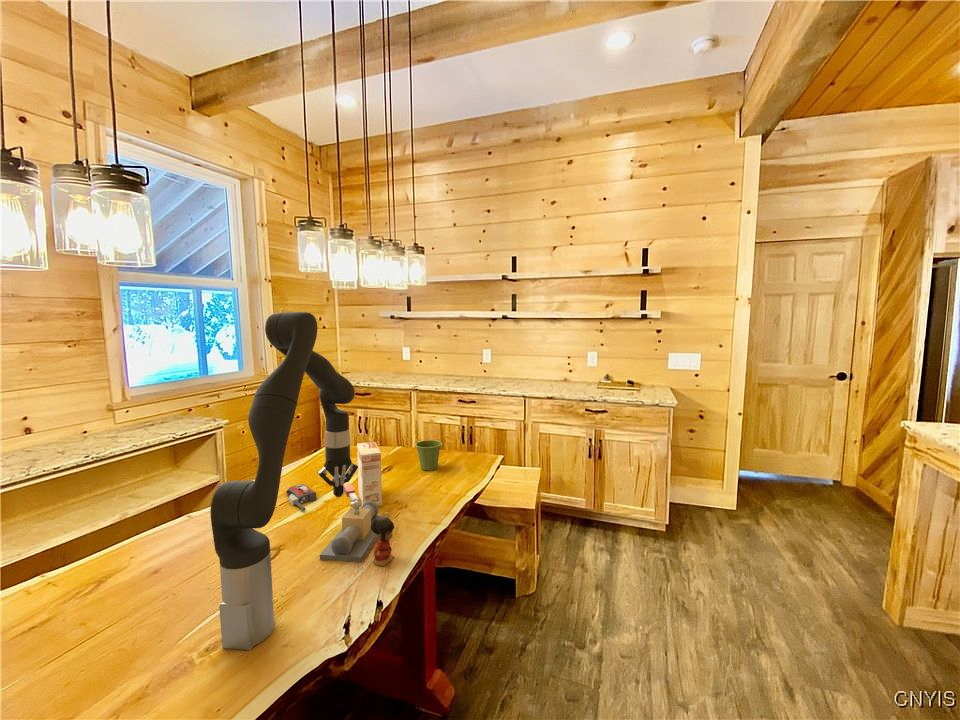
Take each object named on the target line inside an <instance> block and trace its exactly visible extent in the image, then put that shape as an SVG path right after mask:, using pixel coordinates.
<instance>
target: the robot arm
mask: <svg viewBox="0 0 960 720" xmlns="http://www.w3.org/2000/svg"><path fill="white" fill-rule="evenodd" d="M318 327H319V326H318V321H317V318H316V316H315V315H314V314H312V313H311V312H309V311H308V312H307V311H288V312H283V311H282V312H276V313H272V314H270V315H269V316H268V317H267V319H266V321H265V325H264V331H265V336H266V338H267V340H268V342H269V344H271V345H272V346H273V348H275V349H276V350H277V351H279V352H280V353H282V354H283V355H284V356H285V357H284V358H283V359H282V361H281V362H280V364H279V365H278V366H277V367H275V369H274V370H273V371H272V372H271V373H270V374H269V375H268V376H267V377H266V378H265V379H264V380H263V381H262V383H260V384H259V386H258V387H257V388H256V391H255V392H254V393H255V394H254V396H253V399H252V403H251V405H250V409H249V412H248V416H247V417H248V426H249V431H250V433H251V436H252V439H253V441H254V444H255V446H256V450H257V454H258V464H257V465H258V466H257V471H256V476H255V479H254V480H227V481H225V482H223V483H222V484H220V485H219V486H218V487H217V488H216V489H215V491H214V493H213V496H212V499H211V502H210V508H209V510H210V523H211V525H210V526H211V530H212V537H213V546H214V551H215V554H216V556H217V557H218V559H219V569H220V570H219V571H220V585H221V598H222V599H221V600H222V602H220V604H219V606H218V607H219V618H220V619H219V620H220V634H221V635H220V636H221V648H223V649H229V650H243V651H251V650H252V648H253V647H254V646H256V645H258V644H260V643H261V642H263V641H264V640H266V639H267V638H268V637H269V636H270V635H271V634H272V632H273V631H274V629H275V614H274V612H275V610H274V607H275V606H274V597H273V596H274V595H273V591H274V590H273V577H272V576H273V573H272V561H271V560H272V557H271V543H270V542H271V541H270V539H269V537H268V536H267V534H265V533H262V532H260V531H259V530H256V529H261V528H264V527H265V526H266V525H268V524H269V523H270V520H271V519H272V517H273V515H274V513H275V509H276V506H277V501H278V497H279V491H280V484H281V477H282V471H283V464H284V457H285V454H286V449H287V445H288V440H289V437H290V433H291V428H292V425H293V423H294V422H293V421H294V418H295V414H296V410H297V405H298V401H299V395H300V392H301V387H302V384H303V381H304V377H305V374H306V375H307V376H308V377H309V378H310V381H312V382H313V383H314V385H315V386H316V387H317V388H318V389H319V390H318V396H319V400H320V404H321V408H322V410H323V414H324V418H325V437H324V448H325V449H324V451H325V453H324V454H325V455H324V456H325V463H324V464H323V467H322V469H321V470H317V475H318V476H319V477H320V478H321V479H322V480H323V481H324V482H325V483H326V484H327V485H329V487H332V492H333V493H332V494H333V496H335V497H336V498H337V499H338V498H341V497H343V495H344V494H345V492H344V488H343V485H345V484H346V483H349V482H350V481H351V479H352V477H353V476H354V474H355V473H356V471H358V464H356V463H353V460H352V459H351V435H350V421H349V420H350V415H349V413H348V412H347V411H346V410H343V409H340V408H339V407H337V405H347V404H349V403H351V402H352V401H353V400H354V398H355V394H356V393H355V388H354V387H355V386H354V385H353V383H352V382H350V380H348V378H346V377H344V376H343V375H342V374H340V373H339V372H337V371H336V368H335V367H334V366H333V364H332V363H331V362H330V361H329V359H328V358H326V357H324V356H323V355H321V354H320V353H318V352H316V351H314V348H315V344H316V340H317V337H318V329H319V328H318ZM336 404H337V405H336ZM328 473H329V474H330V475H331V479H330V478H329V477H328V476H327V475H328Z"/></svg>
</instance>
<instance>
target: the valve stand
mask: <svg viewBox="0 0 960 720" xmlns="http://www.w3.org/2000/svg"><path fill="white" fill-rule="evenodd" d="M379 510H380V508H379V506H378V505H377V504H376V503H375V502H373V501H367V502H365V503H364V504H363V506H361V507H359V508H352V507H350V508H349V509H348V510H347V512H346V513H345V514H344V515H343V516H342V517H341V524H342V526H341V527H342V528H341V529H340V530H339V531H338V532H337V534H336V535H335V536H334V537H333V538H332V540H330V542H329V543H328V544H327V545H326V546H325V548H324V549H323V550H322V552H320V554H319V561H334V562H348V563H349V562H352V563H362V562H363V561H364V559H365V558H366V556H367V555H368V553H369V552H370V551H371V549H372V548H373V545H374V544H375V542H377V540H378V539H379V535H378V534H375V533H374V532H373V531H372V530H371V525H372V523H373V520H374V519H381V518H389V519H390V516H389V515H386V514H385V515H383V514H382V515H381V514H379Z"/></svg>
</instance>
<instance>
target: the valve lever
mask: <svg viewBox="0 0 960 720" xmlns="http://www.w3.org/2000/svg"><path fill="white" fill-rule="evenodd" d="M343 489H344V494H345V496H346V498H349V499H350V508H362V500H361V499H360V498H358V496H357V495H356V489H355V487H354V486H353V484H352V483H348V484H346V483H345V484H344V485H343Z"/></svg>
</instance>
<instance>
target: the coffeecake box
mask: <svg viewBox="0 0 960 720" xmlns="http://www.w3.org/2000/svg"><path fill="white" fill-rule="evenodd" d="M356 447H357V453H356V454H357V466H358V468H357V476H358V477H357V479H358V480H357V481H358V486H357V487H358V496H359V499H361V500H362V506H363V504H364V503H365V502H367V501H373V502H375V503H376V504H377V505H378V507H382V506H383V495H382V494H383V493H382V490H383V489H382V483H383V482H382V453H381V450H380V448H379V446H378V444H377V442H376V441H370V442H368V441H367V442H362V443H361V442H360V443H356ZM362 506H361V507H362Z"/></svg>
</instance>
